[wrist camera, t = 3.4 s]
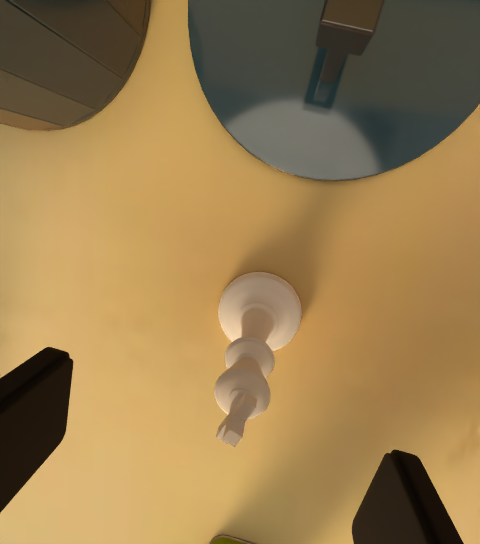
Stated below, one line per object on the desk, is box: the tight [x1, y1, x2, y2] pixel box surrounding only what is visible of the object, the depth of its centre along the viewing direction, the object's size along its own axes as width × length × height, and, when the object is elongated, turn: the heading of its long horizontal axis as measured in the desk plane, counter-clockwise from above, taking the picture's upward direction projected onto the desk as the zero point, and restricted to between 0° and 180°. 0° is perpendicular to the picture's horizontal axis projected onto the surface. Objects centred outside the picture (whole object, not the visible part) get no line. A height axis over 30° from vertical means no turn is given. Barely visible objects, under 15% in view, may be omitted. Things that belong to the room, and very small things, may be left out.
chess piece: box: [214, 272, 302, 447], centre depth 14 cm, size 5×5×10 cm
